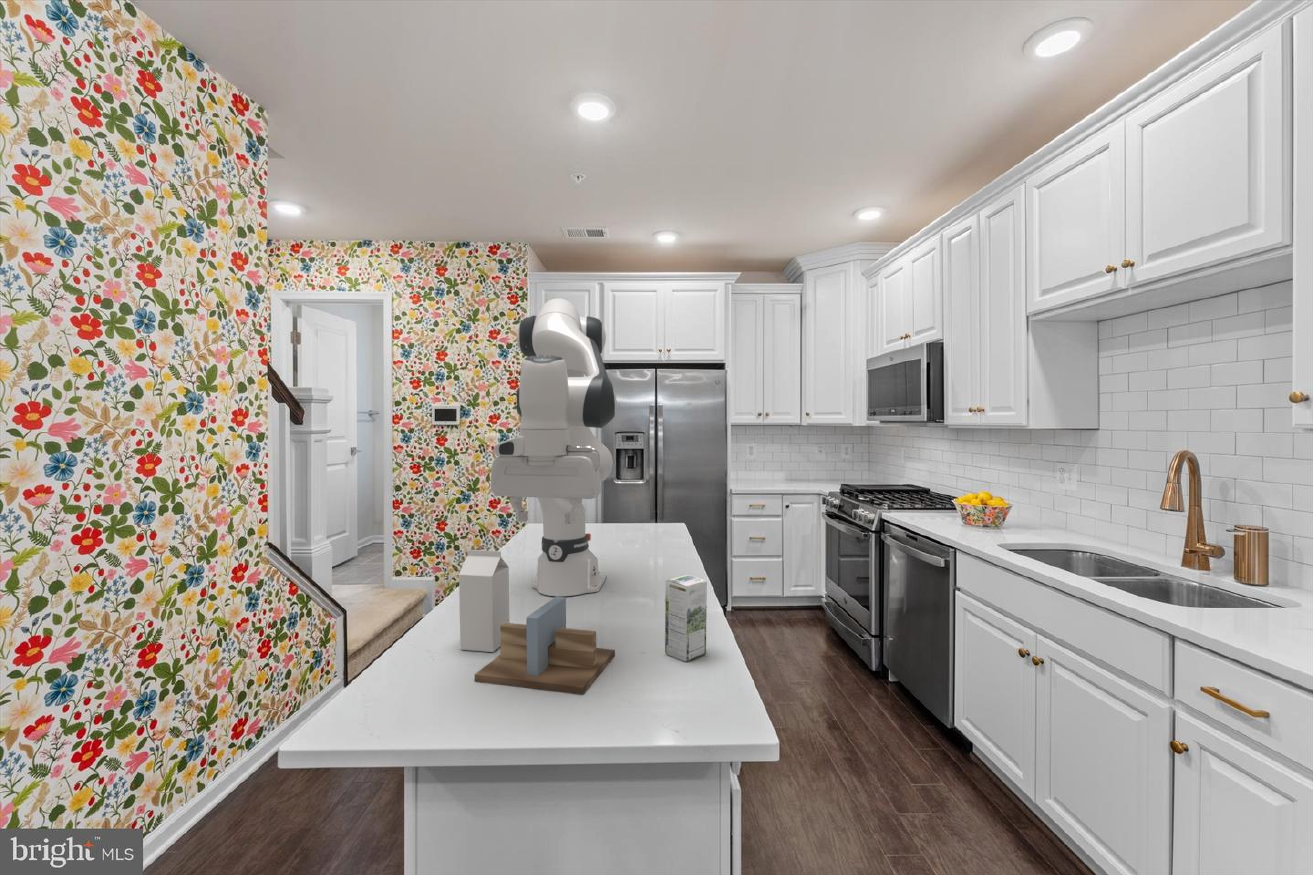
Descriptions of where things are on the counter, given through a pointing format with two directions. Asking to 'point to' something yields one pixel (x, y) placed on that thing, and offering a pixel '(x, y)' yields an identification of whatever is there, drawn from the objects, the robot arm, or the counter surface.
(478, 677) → the rail stand
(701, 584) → the syrup box
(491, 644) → the milk carton
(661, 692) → the counter surface
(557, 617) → the slotted plate
